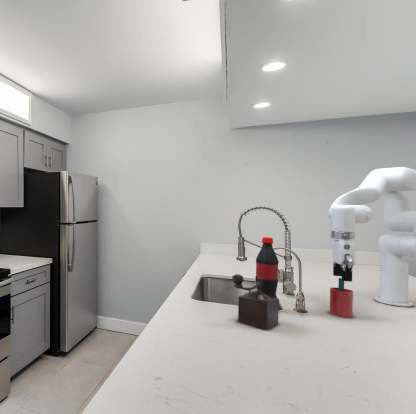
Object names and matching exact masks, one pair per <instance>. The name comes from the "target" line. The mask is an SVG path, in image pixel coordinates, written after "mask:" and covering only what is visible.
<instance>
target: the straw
mask: <svg viewBox="0 0 416 414" xmlns="http://www.w3.org/2000/svg"><path fill="white" fill-rule="evenodd" d="M337 284H338V286H337V288H338V291H343V292H344V289H345V281H342V277H339V278H338V283H337Z"/></svg>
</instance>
